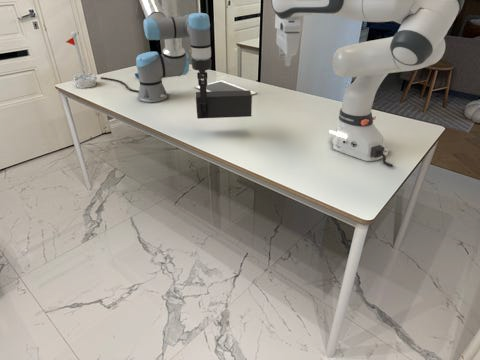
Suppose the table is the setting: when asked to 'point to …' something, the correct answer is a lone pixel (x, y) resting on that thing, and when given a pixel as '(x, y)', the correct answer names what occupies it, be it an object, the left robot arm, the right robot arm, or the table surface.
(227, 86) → the tablet
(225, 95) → the box
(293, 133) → the table surface
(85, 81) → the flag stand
